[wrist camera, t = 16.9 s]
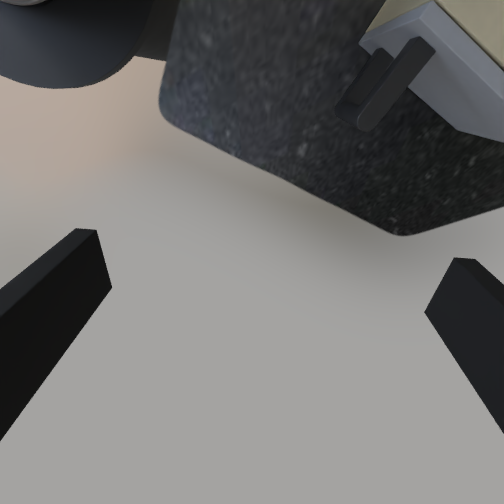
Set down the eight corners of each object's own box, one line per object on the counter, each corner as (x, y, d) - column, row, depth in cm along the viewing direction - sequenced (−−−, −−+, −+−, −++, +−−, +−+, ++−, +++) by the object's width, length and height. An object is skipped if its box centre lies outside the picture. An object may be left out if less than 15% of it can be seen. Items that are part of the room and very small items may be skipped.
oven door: (412, 176, 35) (484, 224, 23) (317, 103, 31) (345, 116, 20) (464, 122, 31) (579, 147, 20) (364, 33, 28) (432, -1, 16)
